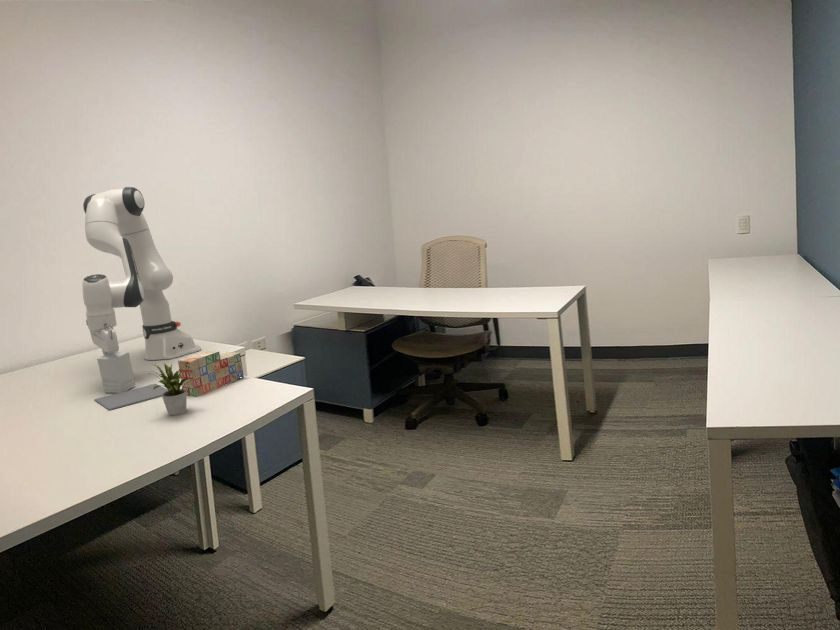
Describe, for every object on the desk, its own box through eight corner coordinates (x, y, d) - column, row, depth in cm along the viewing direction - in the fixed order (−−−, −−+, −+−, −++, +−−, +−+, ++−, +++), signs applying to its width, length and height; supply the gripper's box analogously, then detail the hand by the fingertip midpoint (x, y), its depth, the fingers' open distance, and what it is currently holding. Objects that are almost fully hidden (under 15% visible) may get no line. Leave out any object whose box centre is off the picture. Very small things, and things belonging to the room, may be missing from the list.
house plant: (137, 419, 183) (127, 366, 180) (170, 403, 196) (162, 353, 192) (175, 422, 178) (166, 368, 175) (207, 406, 190) (199, 355, 187)
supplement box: (136, 385, 218) (129, 351, 214) (121, 393, 211) (114, 358, 208) (119, 384, 220) (111, 351, 216) (103, 393, 213) (96, 358, 209)
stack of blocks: (231, 376, 222) (227, 343, 219) (244, 378, 219) (239, 344, 216) (182, 395, 204) (177, 359, 201) (195, 397, 201) (190, 360, 198)
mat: (155, 384, 218) (155, 383, 218) (172, 393, 206) (172, 392, 206) (94, 400, 205) (94, 399, 205) (109, 410, 193) (108, 409, 193)
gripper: (120, 324, 208) (126, 364, 210) (103, 316, 223) (109, 353, 226) (100, 328, 204) (106, 368, 206) (84, 319, 219) (91, 357, 222)
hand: (108, 360), depth 216 cm, fingers closed, pressing on supplement box
